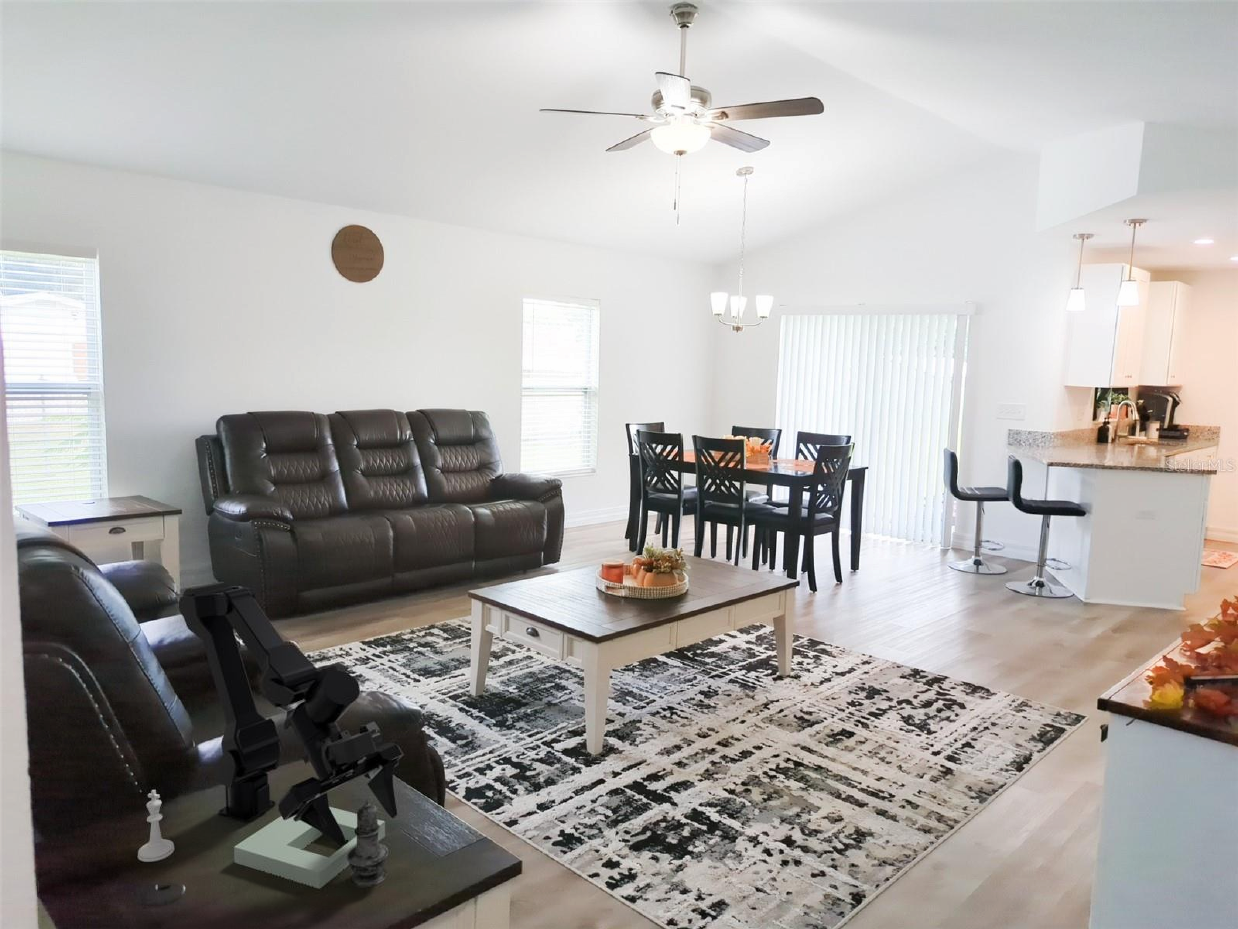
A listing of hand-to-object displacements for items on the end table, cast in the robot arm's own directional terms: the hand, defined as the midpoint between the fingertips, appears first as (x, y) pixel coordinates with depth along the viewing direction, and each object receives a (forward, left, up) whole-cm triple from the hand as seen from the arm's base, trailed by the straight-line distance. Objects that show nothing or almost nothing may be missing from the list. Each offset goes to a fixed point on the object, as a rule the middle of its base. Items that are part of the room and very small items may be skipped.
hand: (370, 830), depth 124 cm
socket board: (-13, +2, -7) cm, 15 cm away
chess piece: (-34, -8, -8) cm, 35 cm away
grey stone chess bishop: (-1, 0, -8) cm, 8 cm away
